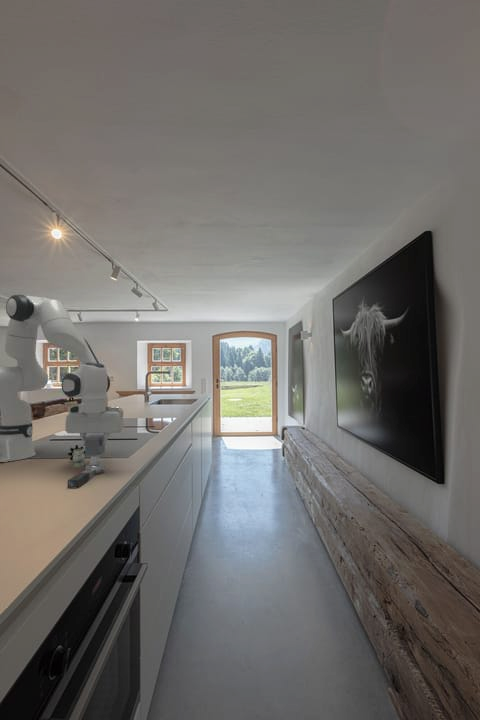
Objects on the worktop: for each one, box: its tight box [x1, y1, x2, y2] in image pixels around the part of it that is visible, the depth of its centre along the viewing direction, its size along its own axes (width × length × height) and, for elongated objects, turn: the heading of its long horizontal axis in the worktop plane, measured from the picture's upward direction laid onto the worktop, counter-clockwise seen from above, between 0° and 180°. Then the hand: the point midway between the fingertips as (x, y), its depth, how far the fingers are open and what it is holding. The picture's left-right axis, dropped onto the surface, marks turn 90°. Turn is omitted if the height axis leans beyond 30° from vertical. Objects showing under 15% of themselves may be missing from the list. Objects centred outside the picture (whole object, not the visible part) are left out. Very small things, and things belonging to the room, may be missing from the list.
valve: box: [67, 444, 86, 469], centre depth 139 cm, size 7×7×12 cm
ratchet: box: [67, 455, 106, 489], centre depth 121 cm, size 6×20×6 cm, turn 179°
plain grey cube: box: [84, 434, 106, 457], centre depth 128 cm, size 5×5×6 cm
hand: (95, 445), depth 128 cm, fingers closed on plain grey cube, 5 cm apart
